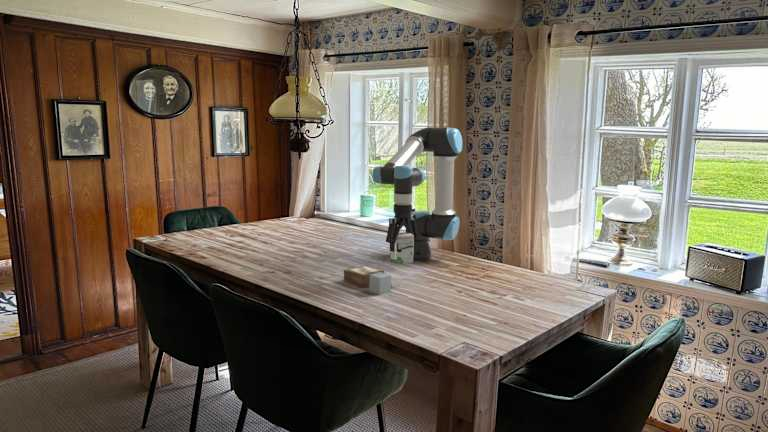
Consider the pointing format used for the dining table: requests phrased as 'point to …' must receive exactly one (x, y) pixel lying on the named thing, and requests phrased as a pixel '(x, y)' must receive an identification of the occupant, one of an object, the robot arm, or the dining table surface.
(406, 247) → the ink box
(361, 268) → the pedestal
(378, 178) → the robot arm
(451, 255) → the dining table surface
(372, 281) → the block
